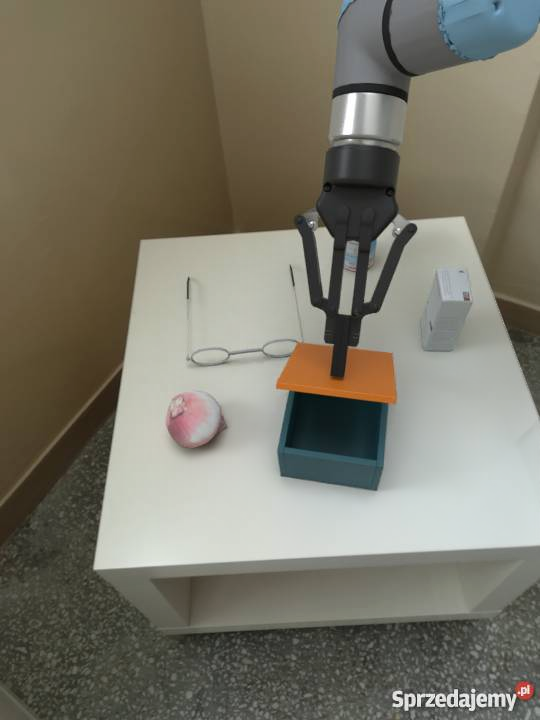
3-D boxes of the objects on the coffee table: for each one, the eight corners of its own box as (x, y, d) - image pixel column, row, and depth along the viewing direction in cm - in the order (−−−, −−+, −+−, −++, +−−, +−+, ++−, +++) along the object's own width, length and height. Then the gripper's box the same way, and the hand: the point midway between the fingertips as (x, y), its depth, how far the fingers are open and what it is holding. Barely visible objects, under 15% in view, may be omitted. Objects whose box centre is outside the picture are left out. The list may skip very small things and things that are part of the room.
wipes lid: (395, 404, 54) (396, 397, 54) (275, 389, 57) (276, 382, 56) (391, 358, 70) (392, 352, 69) (297, 347, 72) (297, 341, 71)
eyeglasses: (188, 369, 80) (183, 354, 77) (188, 280, 91) (183, 263, 88) (306, 355, 80) (305, 339, 77) (291, 267, 91) (290, 250, 88)
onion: (181, 401, 78) (169, 375, 72) (232, 407, 76) (225, 381, 70) (166, 451, 73) (152, 428, 67) (220, 459, 72) (211, 436, 66)
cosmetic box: (419, 320, 83) (434, 265, 73) (449, 320, 82) (467, 265, 72) (423, 353, 79) (439, 300, 69) (454, 353, 79) (474, 300, 69)
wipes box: (376, 491, 68) (383, 467, 62) (280, 476, 70) (276, 451, 64) (385, 387, 76) (391, 357, 70) (299, 377, 78) (297, 346, 72)
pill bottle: (364, 242, 93) (369, 190, 83) (380, 265, 89) (388, 213, 80) (332, 253, 92) (334, 201, 83) (347, 277, 89) (351, 225, 79)
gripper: (425, 159, 56) (395, 373, 61) (304, 152, 59) (285, 360, 63) (433, 145, 49) (399, 389, 54) (295, 138, 51) (274, 374, 56)
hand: (337, 373), depth 59 cm, fingers closed
